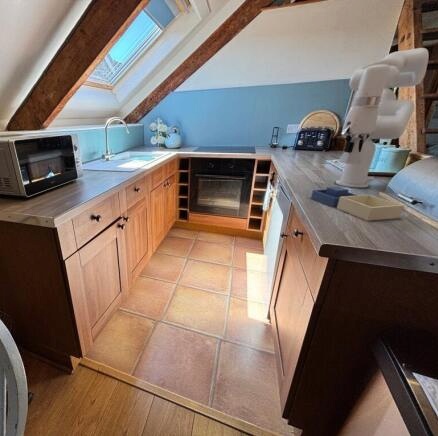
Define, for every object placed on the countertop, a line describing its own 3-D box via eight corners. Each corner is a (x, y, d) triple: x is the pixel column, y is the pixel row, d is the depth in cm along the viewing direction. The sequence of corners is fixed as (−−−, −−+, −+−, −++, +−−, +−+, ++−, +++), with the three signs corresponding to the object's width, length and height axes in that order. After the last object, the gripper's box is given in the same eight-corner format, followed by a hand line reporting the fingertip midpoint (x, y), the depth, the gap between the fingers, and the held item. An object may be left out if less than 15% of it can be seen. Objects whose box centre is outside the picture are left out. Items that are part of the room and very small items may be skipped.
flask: (352, 161, 105) (359, 137, 101) (364, 164, 98) (372, 138, 94) (334, 161, 105) (340, 137, 102) (344, 164, 99) (352, 138, 95)
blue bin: (334, 196, 104) (336, 188, 103) (358, 205, 94) (361, 196, 93) (310, 198, 103) (312, 190, 102) (332, 207, 93) (335, 198, 92)
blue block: (334, 198, 101) (337, 186, 99) (344, 201, 96) (348, 189, 94) (323, 198, 100) (326, 187, 98) (333, 202, 96) (337, 190, 94)
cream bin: (365, 206, 93) (369, 194, 91) (399, 218, 82) (404, 205, 80) (336, 208, 92) (340, 196, 90) (367, 220, 81) (372, 207, 79)
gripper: (376, 103, 97) (361, 150, 104) (338, 103, 96) (326, 151, 103) (395, 102, 90) (378, 152, 97) (355, 102, 89) (341, 154, 96)
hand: (352, 151), depth 100 cm, fingers closed on flask, 3 cm apart
